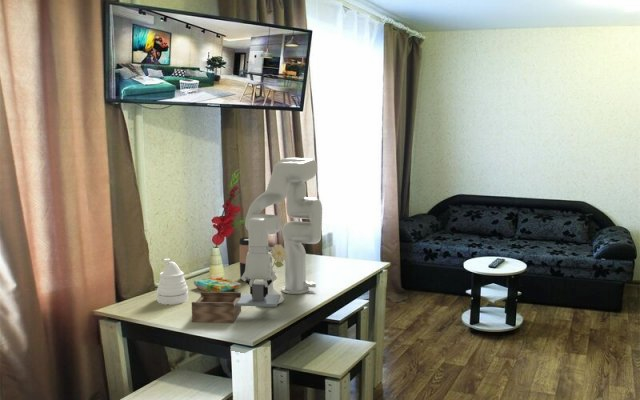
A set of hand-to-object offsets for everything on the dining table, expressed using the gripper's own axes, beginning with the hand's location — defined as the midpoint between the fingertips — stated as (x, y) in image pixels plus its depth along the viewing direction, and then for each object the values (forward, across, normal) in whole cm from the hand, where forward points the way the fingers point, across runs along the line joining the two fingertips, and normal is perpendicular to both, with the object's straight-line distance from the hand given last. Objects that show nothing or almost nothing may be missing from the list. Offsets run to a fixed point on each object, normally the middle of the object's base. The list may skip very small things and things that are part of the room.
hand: (259, 295), depth 219 cm
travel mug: (+9, +14, -55) cm, 57 cm away
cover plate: (+2, 0, 0) cm, 2 cm away
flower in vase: (+9, -2, -18) cm, 20 cm away
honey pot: (+9, +40, -20) cm, 46 cm away
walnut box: (+8, +16, 0) cm, 19 cm away
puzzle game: (+9, +25, -36) cm, 45 cm away
